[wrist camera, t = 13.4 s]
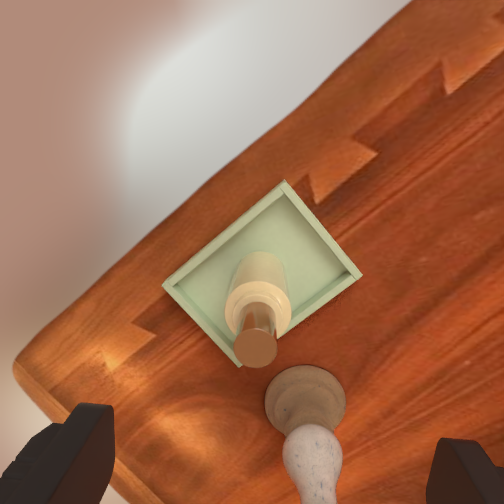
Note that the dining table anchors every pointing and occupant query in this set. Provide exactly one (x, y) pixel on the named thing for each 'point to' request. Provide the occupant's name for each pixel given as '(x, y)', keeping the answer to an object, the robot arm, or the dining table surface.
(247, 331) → the stoneware bottle
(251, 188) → the dining table surface
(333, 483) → the candle holder
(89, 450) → the robot arm
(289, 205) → the tray
